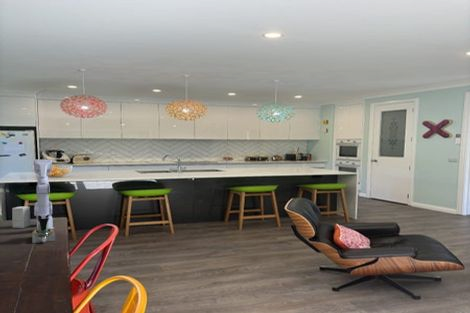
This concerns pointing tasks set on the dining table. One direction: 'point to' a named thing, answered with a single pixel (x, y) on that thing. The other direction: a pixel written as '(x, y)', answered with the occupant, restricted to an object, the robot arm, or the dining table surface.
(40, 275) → the dining table surface
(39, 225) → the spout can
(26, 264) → the dining table surface
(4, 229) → the dining table surface
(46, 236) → the gearbox
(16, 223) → the supplement box
